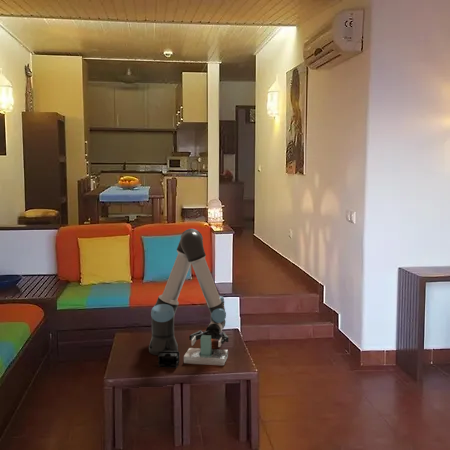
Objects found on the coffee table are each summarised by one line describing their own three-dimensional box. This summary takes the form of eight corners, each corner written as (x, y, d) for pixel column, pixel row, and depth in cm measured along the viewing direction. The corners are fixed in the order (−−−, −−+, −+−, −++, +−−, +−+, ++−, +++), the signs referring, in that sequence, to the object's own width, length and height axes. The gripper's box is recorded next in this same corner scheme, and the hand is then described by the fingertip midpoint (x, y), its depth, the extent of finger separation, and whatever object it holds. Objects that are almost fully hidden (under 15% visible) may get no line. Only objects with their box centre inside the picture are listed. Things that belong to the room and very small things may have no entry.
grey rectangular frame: (183, 363, 280) (183, 356, 279) (189, 354, 292) (189, 347, 291) (223, 365, 277) (223, 358, 276) (227, 356, 288) (227, 349, 288)
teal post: (200, 361, 282) (200, 338, 281) (202, 358, 287) (202, 335, 285) (209, 361, 282) (209, 338, 280) (211, 358, 286) (211, 335, 284)
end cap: (179, 362, 281) (179, 349, 280) (178, 368, 274) (177, 354, 273) (159, 362, 282) (159, 349, 281) (157, 367, 275) (157, 354, 274)
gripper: (237, 338, 300) (230, 352, 279) (191, 335, 304) (181, 349, 284) (237, 324, 299) (230, 337, 278) (191, 322, 303) (180, 335, 283)
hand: (205, 343), depth 281 cm, fingers open, 13 cm apart
